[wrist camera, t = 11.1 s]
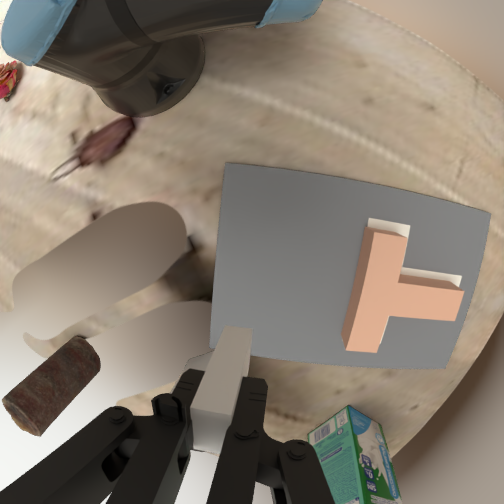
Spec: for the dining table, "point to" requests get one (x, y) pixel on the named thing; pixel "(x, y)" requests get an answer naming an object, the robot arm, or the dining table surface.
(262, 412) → the robot arm
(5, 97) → the flower
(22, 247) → the dining table surface
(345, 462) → the milk carton
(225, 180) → the mat
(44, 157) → the dining table surface
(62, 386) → the candle
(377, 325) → the t block
